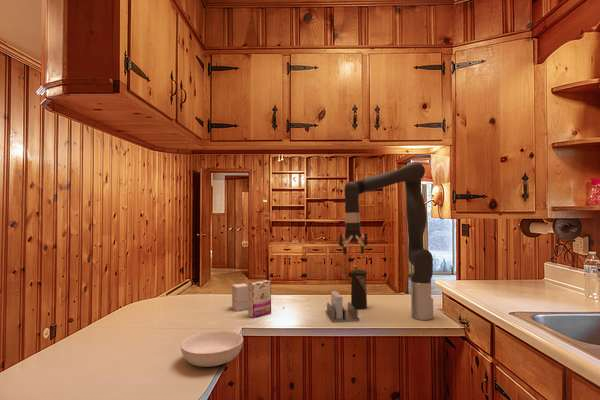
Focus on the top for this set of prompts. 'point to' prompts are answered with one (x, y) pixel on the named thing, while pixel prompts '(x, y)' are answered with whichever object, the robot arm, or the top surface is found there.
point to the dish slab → (337, 304)
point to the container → (358, 289)
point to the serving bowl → (211, 347)
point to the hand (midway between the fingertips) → (353, 254)
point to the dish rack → (348, 315)
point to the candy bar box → (259, 298)
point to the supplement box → (240, 297)
